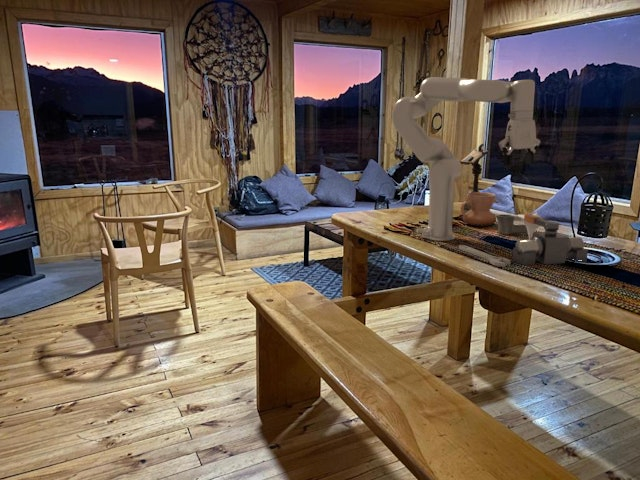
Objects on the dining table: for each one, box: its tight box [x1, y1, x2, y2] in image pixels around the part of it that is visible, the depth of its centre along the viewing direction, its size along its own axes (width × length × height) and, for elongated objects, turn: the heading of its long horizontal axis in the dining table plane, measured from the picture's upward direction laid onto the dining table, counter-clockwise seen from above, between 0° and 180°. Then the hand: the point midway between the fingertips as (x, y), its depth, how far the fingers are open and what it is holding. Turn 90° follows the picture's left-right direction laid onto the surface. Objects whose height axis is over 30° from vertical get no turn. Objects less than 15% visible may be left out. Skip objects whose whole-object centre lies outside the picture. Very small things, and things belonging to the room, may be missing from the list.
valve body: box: [512, 229, 589, 266], centre depth 164 cm, size 23×8×11 cm, turn 99°
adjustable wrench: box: [458, 244, 511, 268], centre depth 171 cm, size 25×6×2 cm, turn 16°
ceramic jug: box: [460, 191, 500, 227], centre depth 217 cm, size 18×14×14 cm
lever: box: [524, 213, 560, 231], centre depth 168 cm, size 17×4×2 cm, turn 9°
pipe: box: [495, 213, 528, 236], centre depth 201 cm, size 6×13×8 cm, turn 78°
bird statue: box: [458, 143, 489, 213], centre depth 241 cm, size 17×13×35 cm
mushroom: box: [517, 211, 542, 240], centre depth 188 cm, size 10×11×12 cm
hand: (518, 164), depth 175 cm, fingers open, 9 cm apart
